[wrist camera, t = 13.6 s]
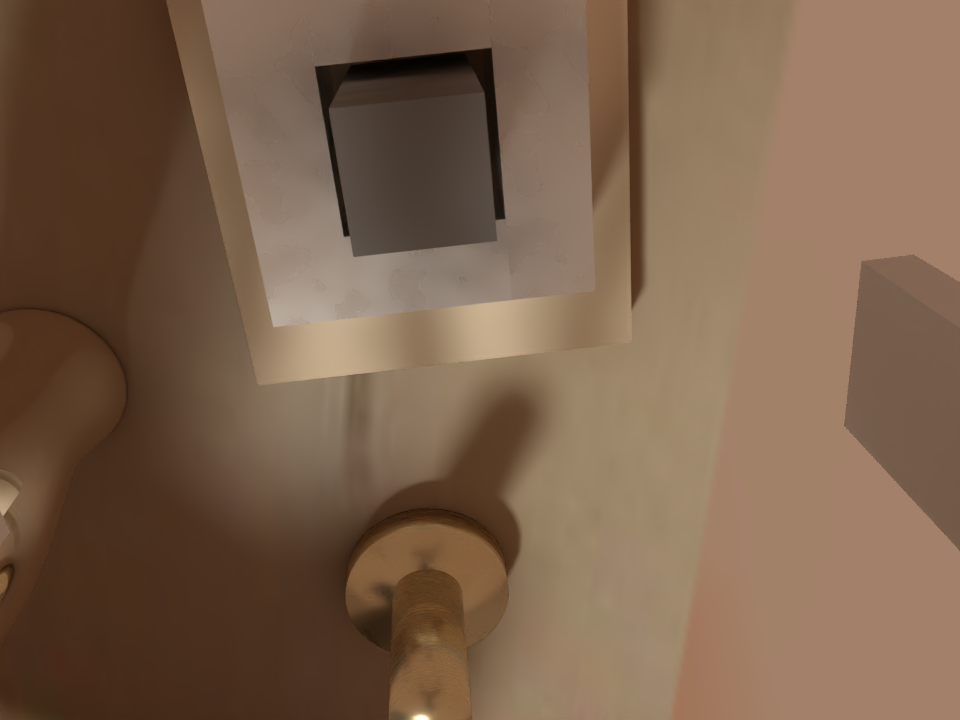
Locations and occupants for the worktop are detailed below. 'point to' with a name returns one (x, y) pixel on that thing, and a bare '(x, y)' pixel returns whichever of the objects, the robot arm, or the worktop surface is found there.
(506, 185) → the white square frame
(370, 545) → the stand
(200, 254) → the worktop surface
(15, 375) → the beer glass
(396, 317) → the hub base
